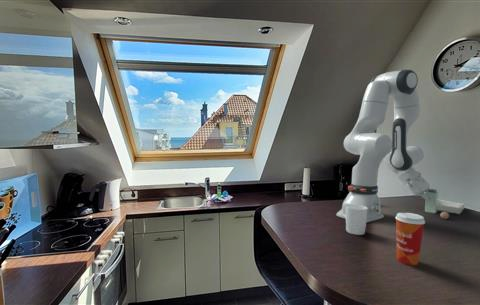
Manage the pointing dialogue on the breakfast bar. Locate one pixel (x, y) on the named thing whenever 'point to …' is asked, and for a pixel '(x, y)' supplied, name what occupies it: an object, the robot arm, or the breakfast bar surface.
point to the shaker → (431, 201)
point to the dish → (450, 206)
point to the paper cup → (409, 237)
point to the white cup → (356, 219)
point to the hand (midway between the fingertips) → (431, 199)
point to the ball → (444, 215)
